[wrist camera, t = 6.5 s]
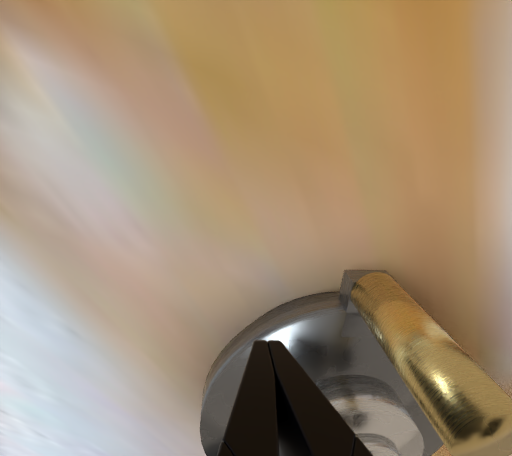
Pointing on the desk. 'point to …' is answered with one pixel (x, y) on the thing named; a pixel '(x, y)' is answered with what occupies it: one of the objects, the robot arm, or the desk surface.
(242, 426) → the robot arm
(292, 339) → the turntable
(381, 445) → the cover
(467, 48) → the desk surface
